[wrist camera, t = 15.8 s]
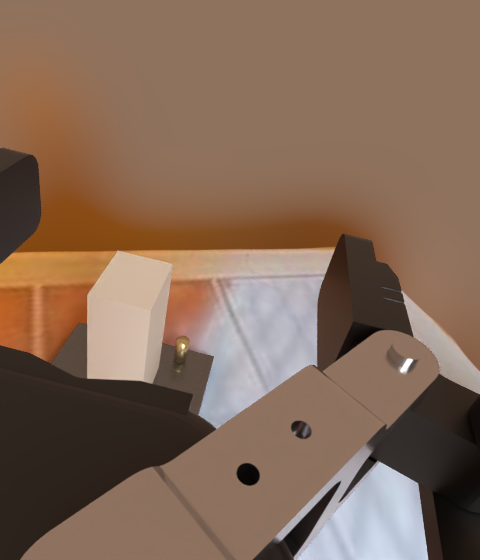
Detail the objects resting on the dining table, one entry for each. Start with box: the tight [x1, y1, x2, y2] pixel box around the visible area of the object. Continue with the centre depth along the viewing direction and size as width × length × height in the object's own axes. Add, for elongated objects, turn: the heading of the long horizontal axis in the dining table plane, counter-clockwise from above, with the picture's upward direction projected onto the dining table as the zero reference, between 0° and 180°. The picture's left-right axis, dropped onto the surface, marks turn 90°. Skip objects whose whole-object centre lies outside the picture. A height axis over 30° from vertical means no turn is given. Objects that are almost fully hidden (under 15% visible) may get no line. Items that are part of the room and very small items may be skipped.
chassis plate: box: [51, 323, 214, 415], centre depth 40 cm, size 14×12×4 cm
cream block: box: [87, 251, 173, 384], centre depth 37 cm, size 4×6×12 cm
